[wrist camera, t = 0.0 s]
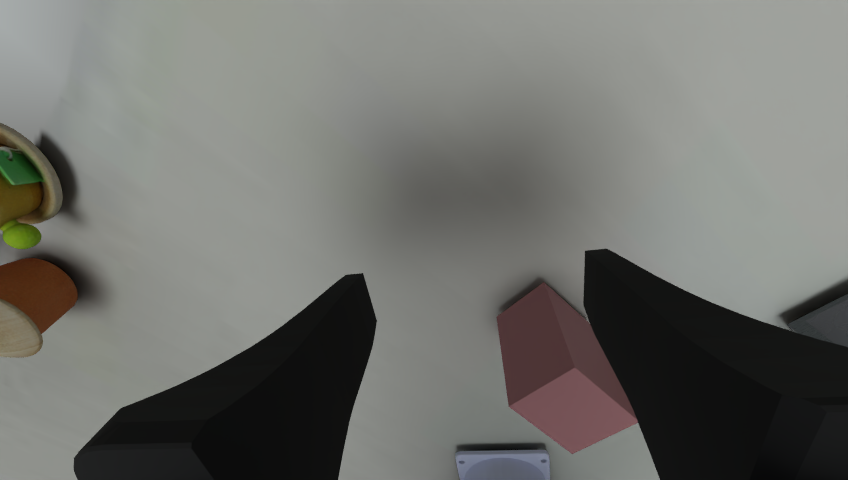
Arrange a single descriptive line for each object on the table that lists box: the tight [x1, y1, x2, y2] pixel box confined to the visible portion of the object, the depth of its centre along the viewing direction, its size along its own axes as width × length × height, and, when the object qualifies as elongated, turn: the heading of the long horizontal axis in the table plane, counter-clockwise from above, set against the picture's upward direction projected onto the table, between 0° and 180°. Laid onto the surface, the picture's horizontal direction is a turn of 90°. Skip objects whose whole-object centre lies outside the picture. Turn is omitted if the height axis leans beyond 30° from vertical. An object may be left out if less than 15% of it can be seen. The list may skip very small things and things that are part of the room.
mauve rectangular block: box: [497, 282, 638, 454], centre depth 21 cm, size 5×4×7 cm
